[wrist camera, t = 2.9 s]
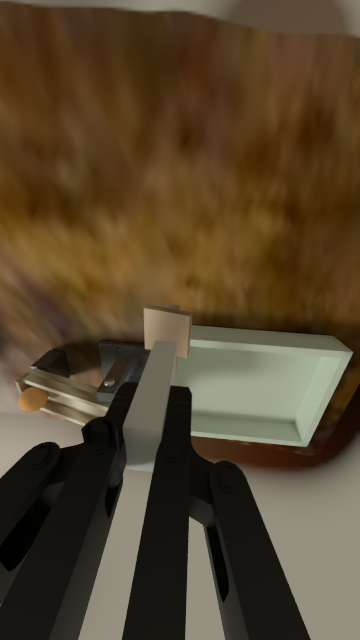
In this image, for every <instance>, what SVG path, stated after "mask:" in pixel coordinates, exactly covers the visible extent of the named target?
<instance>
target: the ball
mask: <svg viewBox="0 0 360 640" xmlns="http://www.w3.org/2000/svg"><path fill="white" fill-rule="evenodd" d="M47 400H48V393H47V391H46V390H44V389H41V388H38V387H35V386H33V387H29V388H27V389H26V390H24V391H23V392H22V394H21V395H20V397H19V401H18V403H19V406H20V408H21V409H22V410H24V411H27V412H33V411H37V410H39V409H41V408H42V407H43V406H44V405H45V404H46V402H47Z"/></svg>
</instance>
